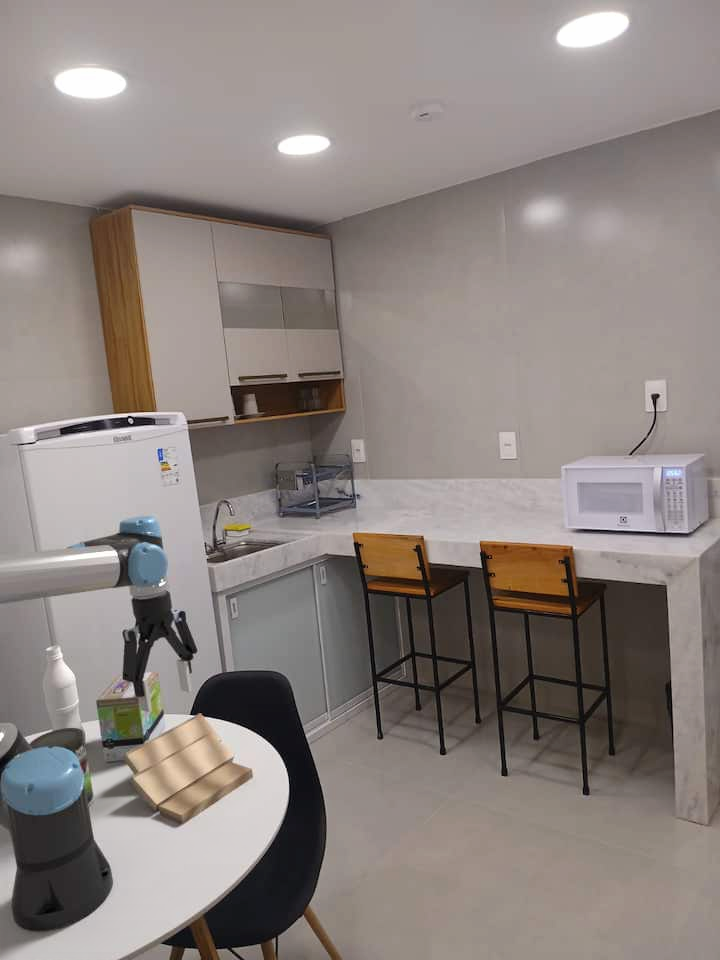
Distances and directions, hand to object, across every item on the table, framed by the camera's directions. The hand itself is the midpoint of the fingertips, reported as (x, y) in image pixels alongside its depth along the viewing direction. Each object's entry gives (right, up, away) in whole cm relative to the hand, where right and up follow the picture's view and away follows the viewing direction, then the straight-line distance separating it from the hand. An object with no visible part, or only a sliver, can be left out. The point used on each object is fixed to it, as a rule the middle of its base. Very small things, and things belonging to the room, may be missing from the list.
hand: (167, 700), depth 150 cm
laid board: (+9, -17, -5) cm, 20 cm away
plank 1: (-1, -14, +9) cm, 16 cm away
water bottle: (-28, -19, +22) cm, 40 cm away
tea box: (-12, -17, +21) cm, 30 cm away
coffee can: (-19, -21, -2) cm, 28 cm away
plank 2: (+3, -15, +1) cm, 15 cm away
